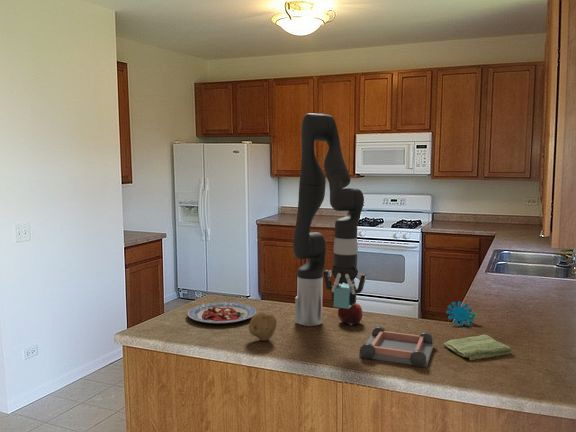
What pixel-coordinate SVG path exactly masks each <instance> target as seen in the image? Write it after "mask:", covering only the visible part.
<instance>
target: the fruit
mask: <svg viewBox="0 0 576 432" xmlns="http://www.w3.org/2000/svg"><path fill="white" fill-rule="evenodd" d="M337 316H338V319H339V320H340V321H341V322H343V323H345V324H347V325H350V326H351V327H353V325H357V324H359V323H360V322H361V321H362V319H363V309H362V306H361V305H360V304H359V303H358V302H356V303H355V304H354V305H353V306H351V307H350V308H349V309H347V308H339V307H338V309H337Z"/></svg>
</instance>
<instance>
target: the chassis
mask: <svg viewBox="0 0 576 432" xmlns="http://www.w3.org/2000/svg"><path fill="white" fill-rule="evenodd" d="M433 341H434V338H433V335H432V334H431V333H430V332H427V331H423V332H421V333H420V334H419V335H418V334H411V333H410V334H409V333H403V332H397V331H396V332H393V331H387V330H386V328H385V327H383V326H380V325H379V326H376V327H374V329H373V330H372V331H371V335H370V336H369V338H368V339H367V341H366V342H365V343H363V344H362V346H361V347H360V349H359V355H358V356H359V358H363V359H365V360H378V361H384V362H390V363H397V364H404V365H410V366H411V365H412V366H414V367H416V368H423V367H425V368H428V366H429V361H430V360H431V359H430V358H431V355H432V353H433V350H434V342H433Z"/></svg>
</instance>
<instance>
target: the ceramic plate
mask: <svg viewBox="0 0 576 432" xmlns="http://www.w3.org/2000/svg"><path fill="white" fill-rule="evenodd" d="M256 313H257V310H256V308H255V307H253V306H252V305H250V304H247V303H246V304H245V303H242V302H241V303H240V302H229V301H222V302H210V303H204V304H200V305H197V306H194V307H192V308H191V309H189V310H188V311H187V316H188V317H189V318H190V319H192V320H194V321H197V322H199V323H200V322H201V323H207V324H216V325H217V324H218V325H222V324H223V325H224V324H231V323H232V324H234V323H237V322H241V321H245V320H247V319H248V320H249V319H250V318H251V319H252V317H253V316H254V315H255V314H256Z"/></svg>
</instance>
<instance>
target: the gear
mask: <svg viewBox="0 0 576 432" xmlns="http://www.w3.org/2000/svg"><path fill="white" fill-rule="evenodd" d="M456 304H457V305H456ZM462 304H463V302H462V301H460V300H459V301H458V302H455V301H452V302H451V304H449V305H448V306H447V308H448V309H447V310H446V314H447V315H449V316H447V317H448V320H452V323H453V325H456V324H457V323H458V322H460V323H459V324H458V326H460V327H463V326H466V327H469V326H470V324H471V323H473V322H474V319H475V318H477V316H478V313H477V312H475V313H472V312H473V308H472V307H469V305H468V304H467V303H464V304H463V305H462ZM461 305H462V306H461ZM452 306H453V307H452ZM467 307H469V308H467ZM464 322H465V324H464Z"/></svg>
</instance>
